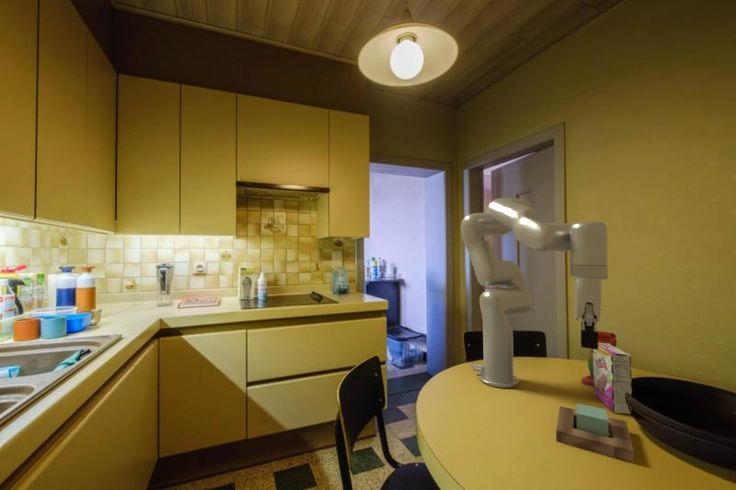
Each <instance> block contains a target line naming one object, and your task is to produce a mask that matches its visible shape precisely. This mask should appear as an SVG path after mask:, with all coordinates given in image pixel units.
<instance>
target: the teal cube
mask: <svg viewBox="0 0 736 490" xmlns="http://www.w3.org/2000/svg"><path fill="white" fill-rule="evenodd" d="M576 410H577V425H576V429H578V430H582V431H586V432H590V433H594V434H597V435H601V436H605V437H609V433H608V417H609V416H608V414H607V412H608V411H607V409H605V408H600V407H597V406H596V407H595V406H590V405H588V404H587V405H585V404H582V403H576Z"/></svg>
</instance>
